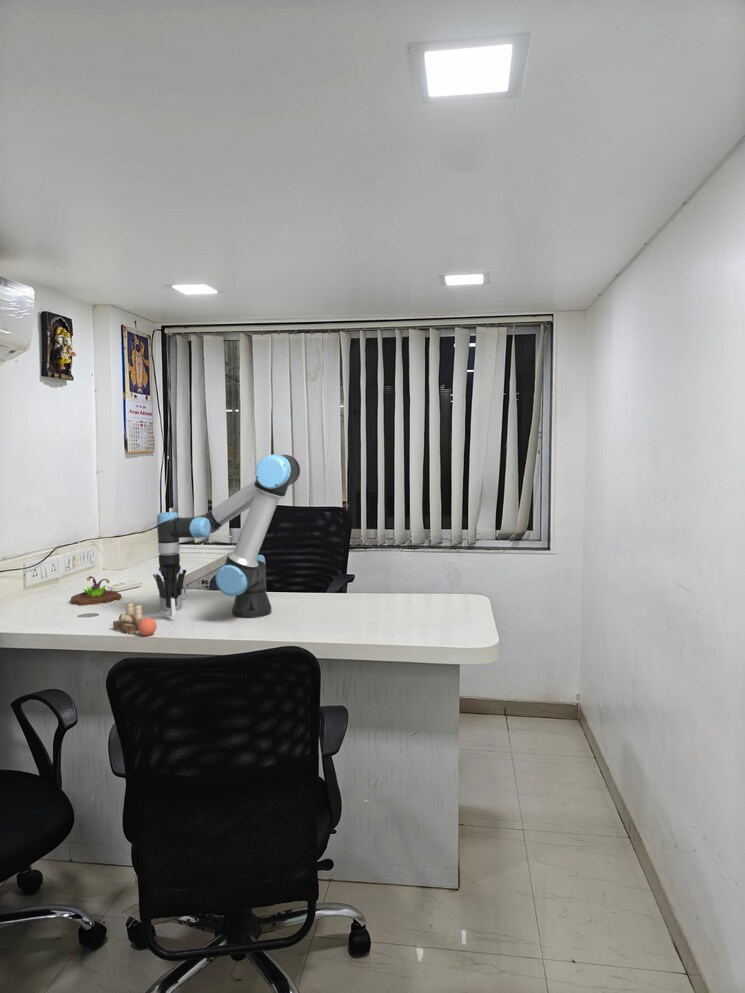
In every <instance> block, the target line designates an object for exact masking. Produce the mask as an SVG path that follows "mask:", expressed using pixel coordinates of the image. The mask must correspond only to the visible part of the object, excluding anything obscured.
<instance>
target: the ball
mask: <svg viewBox="0 0 745 993" xmlns="http://www.w3.org/2000/svg"><path fill="white" fill-rule="evenodd" d="M138 629H139V631H138V632H139V633H140V634H141V635H143V636H147V637H148V636H151V635H153V634H154V633H155V632H156V630H157V622H156V620H154V619H153V618H151V617H146V618H142V620H141V621H140V623H139V625H138Z"/></svg>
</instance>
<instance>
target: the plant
mask: <svg viewBox="0 0 745 993" xmlns="http://www.w3.org/2000/svg"><path fill="white" fill-rule="evenodd" d="M91 579H92V583H93V585H91V586H90V587H89V586H87V587H86V588H82V590H83V592H80V593H78V594H77V593H76V594H75V595H72V596H71V598H70V603H71V605H75V606H79V607H80V606H90V605H91V606H92V605H98V604H99V603H100V604H108V603H113V602H115V601H114V600H116V601H121V600H122V594H121V593H119V592H118V591H116V590H115V591H113V589H112V590H108V589H106V587H107V585H104V586H103V585H102V586H101V584H102V582H103V581H106V583H107V584H109V583H111V582H110V579H108V578H103V579H100V580H99V581H98V583H97V580H96V579H95V577H93V576H87V577H86V580H87V581H91ZM120 599H121V600H120ZM112 601H113V602H112ZM107 602H108V603H107ZM100 604H99V605H100Z"/></svg>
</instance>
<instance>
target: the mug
mask: <svg viewBox="0 0 745 993" xmlns="http://www.w3.org/2000/svg"><path fill="white" fill-rule="evenodd" d="M162 581H163V585H164V580H162ZM182 590H183V595H182V594H181V595H180V596H178V598H177V606H175V610H176V611H179V610H181V609H182V607H183V606H182V605H183V604H182V601H183V600H186V598H187V595H188V593H187V592H188V591H187V586H186V585H185V584H184V583H183V587H182ZM158 593H159V592H158ZM158 596H159V598H158V600H159V611H161V610H162V611H161V612H168V608H167V607H166V599H165V598H161V597H160V593H159V595H158ZM171 598H172V597H171ZM178 609H179V610H178Z"/></svg>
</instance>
